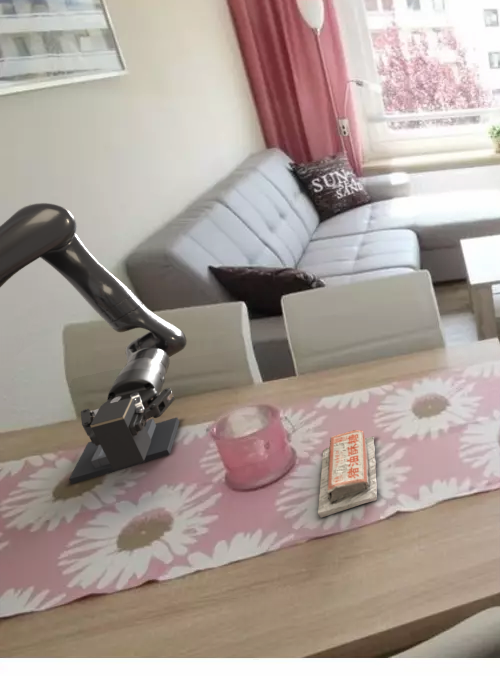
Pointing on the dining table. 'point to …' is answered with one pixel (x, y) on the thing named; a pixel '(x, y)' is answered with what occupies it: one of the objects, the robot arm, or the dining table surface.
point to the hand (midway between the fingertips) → (115, 435)
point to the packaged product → (347, 473)
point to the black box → (120, 434)
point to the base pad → (98, 464)
